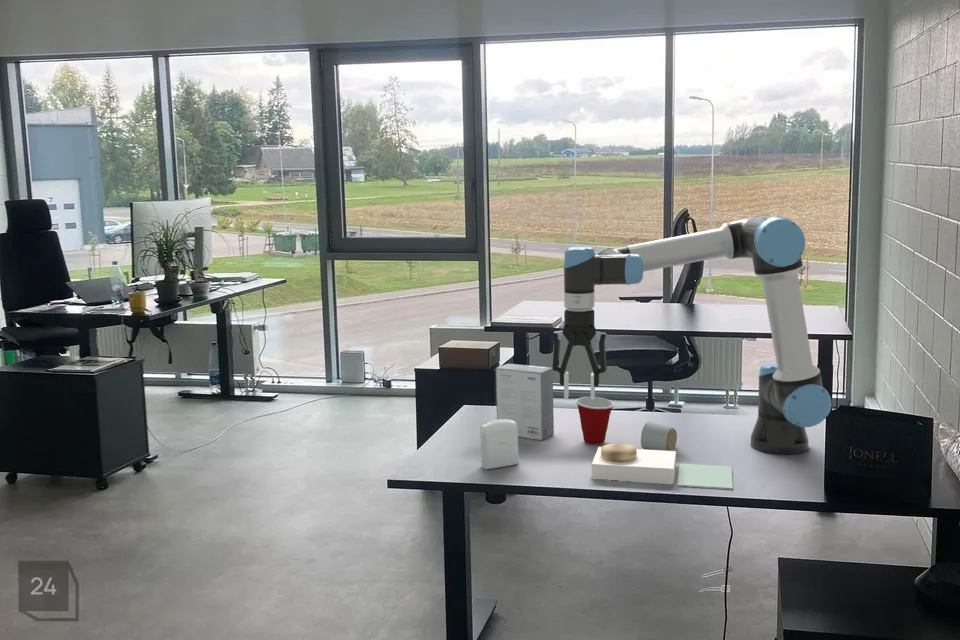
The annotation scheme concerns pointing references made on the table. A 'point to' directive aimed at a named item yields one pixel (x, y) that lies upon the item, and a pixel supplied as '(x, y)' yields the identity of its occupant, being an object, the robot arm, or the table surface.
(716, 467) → the sage mat
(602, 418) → the plastic cup
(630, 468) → the block
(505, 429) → the photo printer
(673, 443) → the ceramic mug
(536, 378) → the hard drive box
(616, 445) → the cork coaster
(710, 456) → the table surface
